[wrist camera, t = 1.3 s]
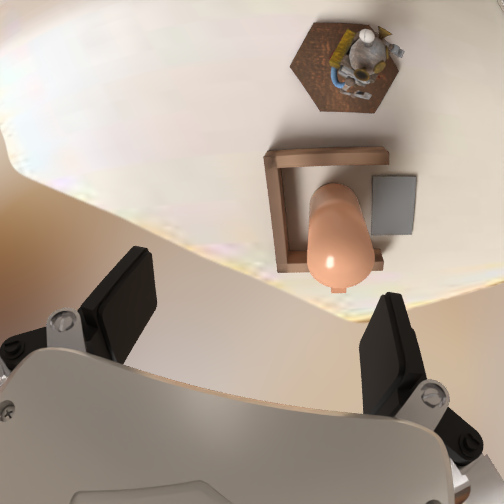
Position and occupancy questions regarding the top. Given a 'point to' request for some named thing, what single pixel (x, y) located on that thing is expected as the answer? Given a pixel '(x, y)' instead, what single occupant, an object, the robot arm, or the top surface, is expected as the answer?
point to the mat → (393, 205)
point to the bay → (273, 165)
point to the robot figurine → (346, 66)
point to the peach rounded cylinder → (338, 239)
